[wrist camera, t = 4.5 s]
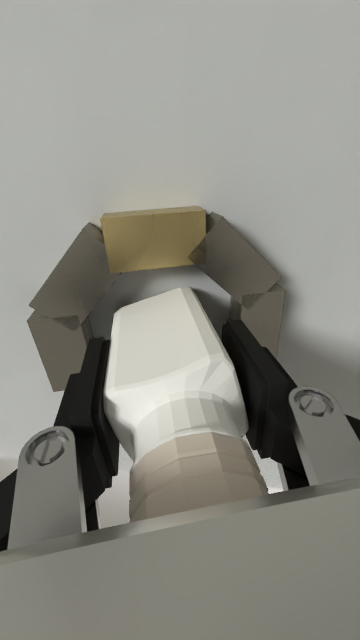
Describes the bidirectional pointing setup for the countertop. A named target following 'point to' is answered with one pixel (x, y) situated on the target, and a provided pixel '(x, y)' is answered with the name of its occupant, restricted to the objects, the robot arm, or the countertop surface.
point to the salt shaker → (177, 408)
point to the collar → (141, 254)
